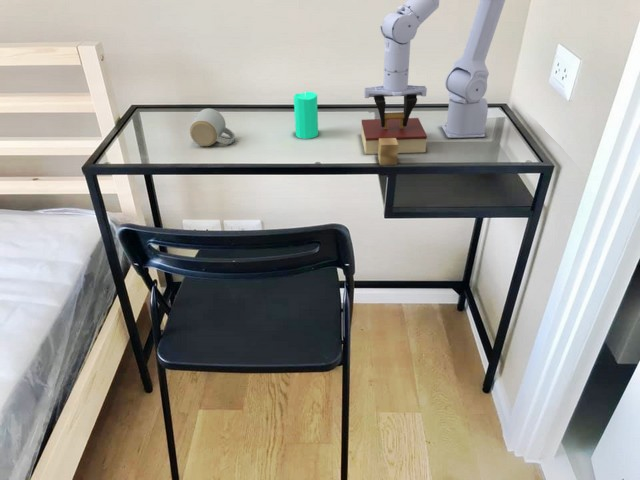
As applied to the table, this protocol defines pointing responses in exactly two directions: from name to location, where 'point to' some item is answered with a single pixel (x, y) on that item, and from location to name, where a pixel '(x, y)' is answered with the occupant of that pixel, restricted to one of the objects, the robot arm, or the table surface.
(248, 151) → the table surface
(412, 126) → the cover
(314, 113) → the candle
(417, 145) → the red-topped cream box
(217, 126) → the ceramic mug
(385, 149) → the block
